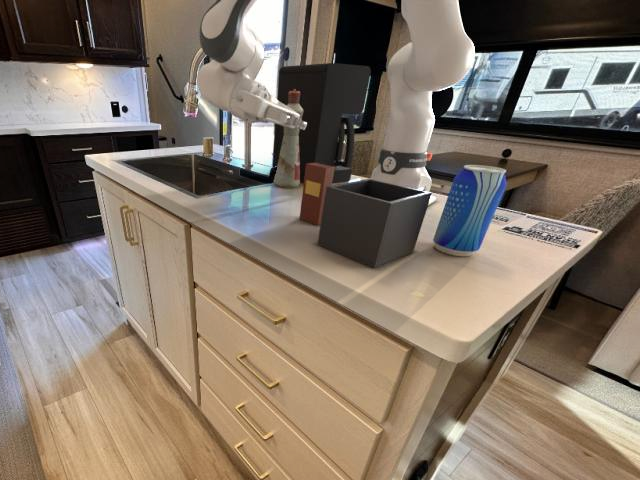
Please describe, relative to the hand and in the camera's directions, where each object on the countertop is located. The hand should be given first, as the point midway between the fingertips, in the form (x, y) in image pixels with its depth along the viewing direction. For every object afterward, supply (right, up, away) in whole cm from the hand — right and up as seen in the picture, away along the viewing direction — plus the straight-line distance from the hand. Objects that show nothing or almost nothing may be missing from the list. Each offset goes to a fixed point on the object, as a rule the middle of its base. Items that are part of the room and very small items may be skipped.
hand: (296, 123), depth 78 cm
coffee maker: (+15, +5, +50) cm, 52 cm away
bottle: (+3, -2, +38) cm, 38 cm away
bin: (+13, -30, -8) cm, 34 cm away
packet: (+5, -21, +6) cm, 22 cm away
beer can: (+31, -30, -8) cm, 44 cm away
